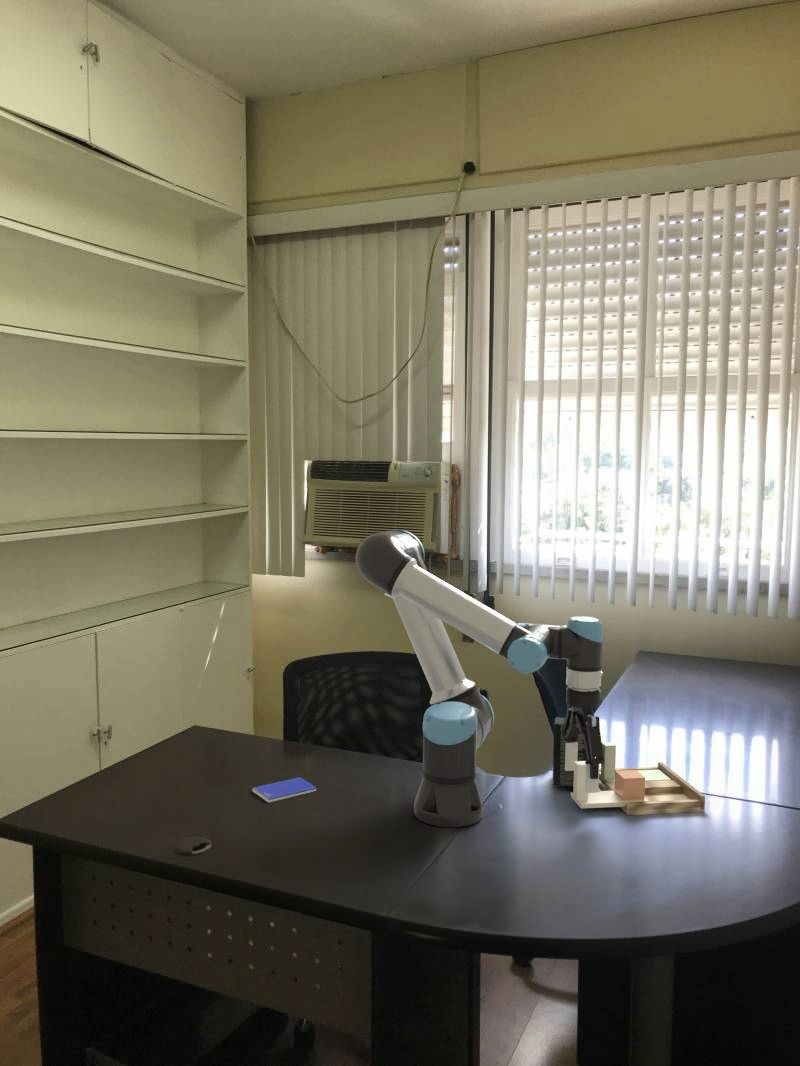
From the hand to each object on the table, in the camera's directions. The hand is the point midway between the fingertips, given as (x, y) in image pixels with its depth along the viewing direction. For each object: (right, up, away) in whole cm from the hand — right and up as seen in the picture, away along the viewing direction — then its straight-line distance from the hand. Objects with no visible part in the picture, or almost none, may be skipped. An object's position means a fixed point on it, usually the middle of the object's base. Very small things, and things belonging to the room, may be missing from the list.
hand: (581, 780), depth 191 cm
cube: (+11, -4, +2) cm, 12 cm away
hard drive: (-67, -6, +9) cm, 68 cm away
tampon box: (+1, -5, +14) cm, 15 cm away
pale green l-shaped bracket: (+16, -4, +15) cm, 22 cm away
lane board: (+17, -6, +9) cm, 20 cm away
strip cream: (+7, -5, +1) cm, 8 cm away
